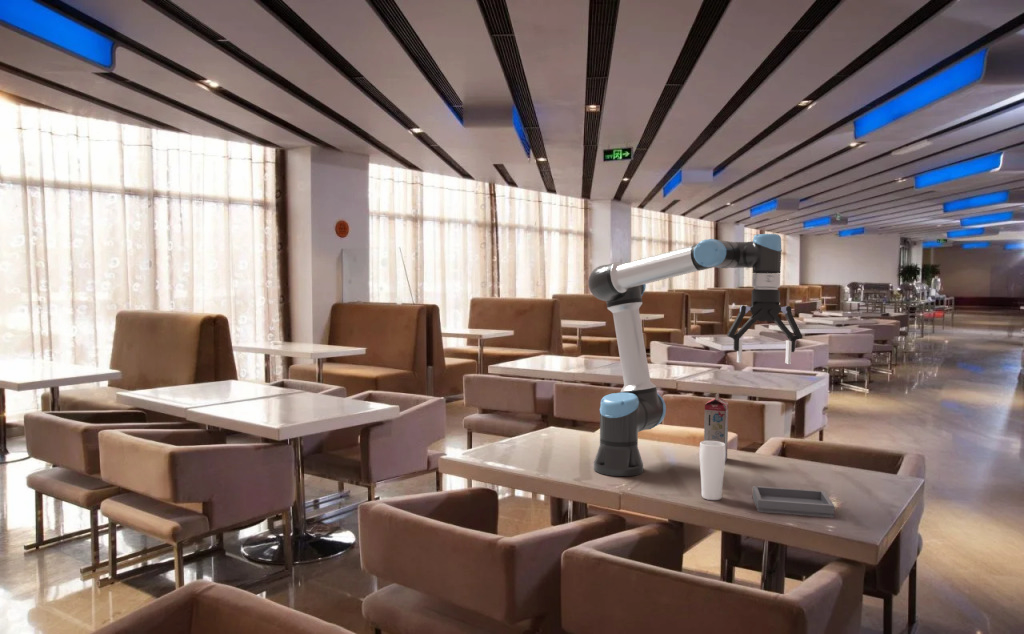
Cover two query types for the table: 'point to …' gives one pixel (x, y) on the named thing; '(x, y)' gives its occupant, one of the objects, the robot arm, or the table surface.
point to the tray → (793, 501)
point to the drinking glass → (712, 469)
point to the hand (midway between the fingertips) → (763, 363)
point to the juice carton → (716, 421)
